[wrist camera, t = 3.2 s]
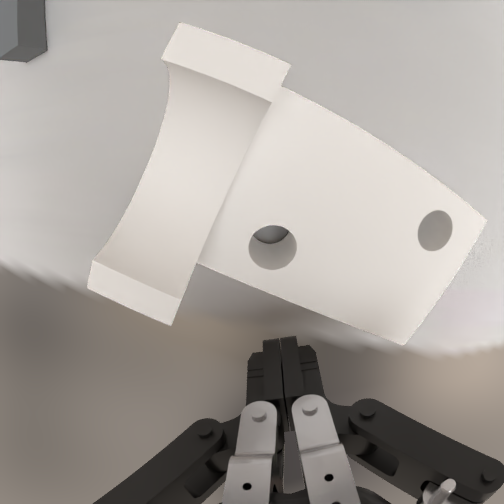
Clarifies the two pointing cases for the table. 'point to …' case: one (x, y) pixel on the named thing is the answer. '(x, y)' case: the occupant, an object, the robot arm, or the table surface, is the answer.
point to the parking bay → (22, 29)
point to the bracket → (280, 201)
